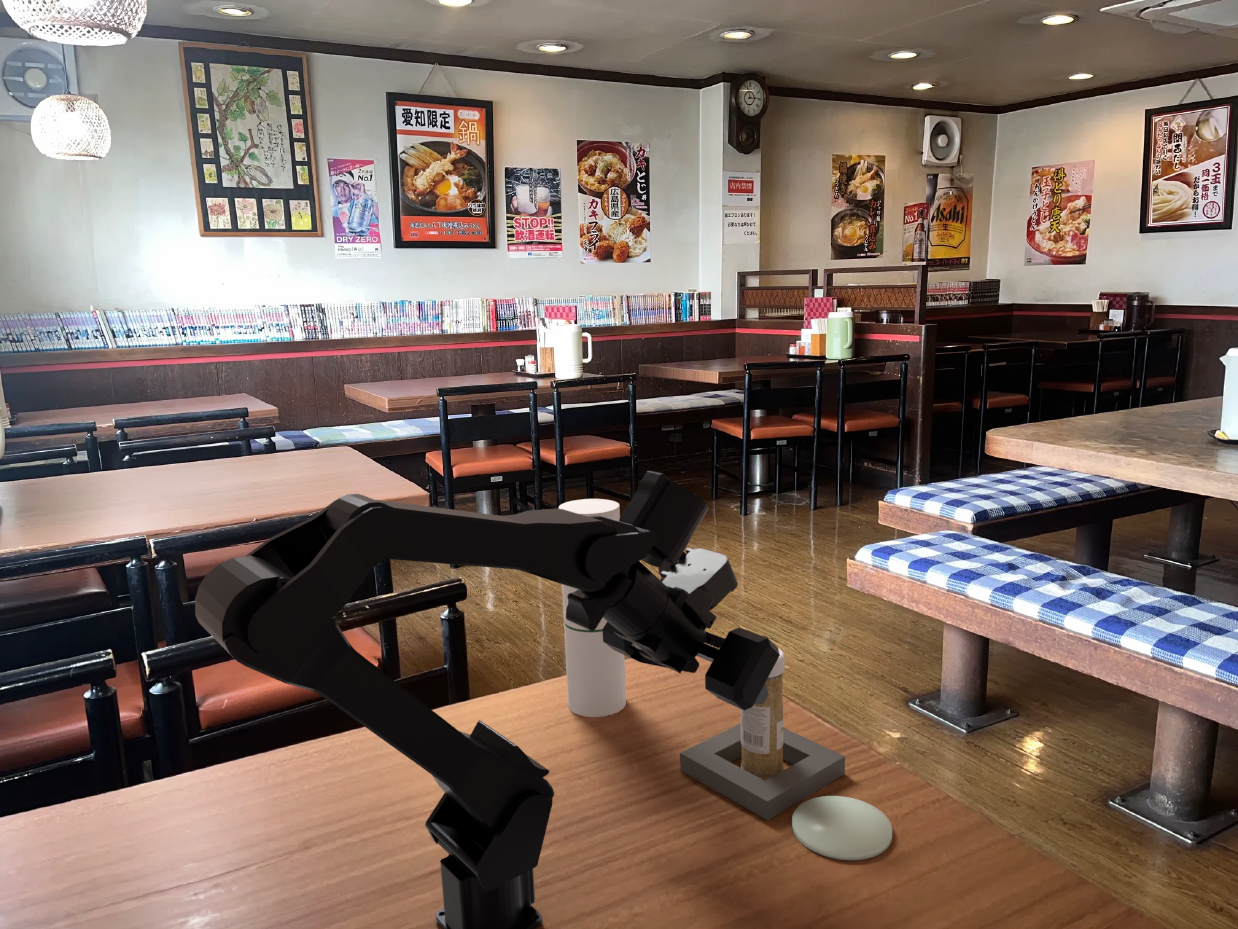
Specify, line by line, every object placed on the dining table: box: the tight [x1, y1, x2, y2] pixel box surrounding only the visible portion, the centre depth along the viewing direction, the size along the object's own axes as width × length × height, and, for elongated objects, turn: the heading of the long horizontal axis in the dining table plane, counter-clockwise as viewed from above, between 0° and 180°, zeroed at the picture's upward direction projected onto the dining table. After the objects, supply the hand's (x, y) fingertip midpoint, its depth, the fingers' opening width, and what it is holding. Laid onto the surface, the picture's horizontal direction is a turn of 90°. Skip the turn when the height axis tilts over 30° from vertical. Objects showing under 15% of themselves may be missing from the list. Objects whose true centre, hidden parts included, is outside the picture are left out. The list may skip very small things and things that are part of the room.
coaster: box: [791, 795, 893, 861], centre depth 81 cm, size 9×9×1 cm
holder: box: [679, 722, 846, 821], centre depth 91 cm, size 12×12×2 cm
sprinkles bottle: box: [740, 647, 786, 781], centre depth 90 cm, size 5×5×13 cm
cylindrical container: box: [558, 498, 627, 718], centre depth 105 cm, size 7×7×25 cm
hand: (729, 682), depth 86 cm, fingers open, 9 cm apart
